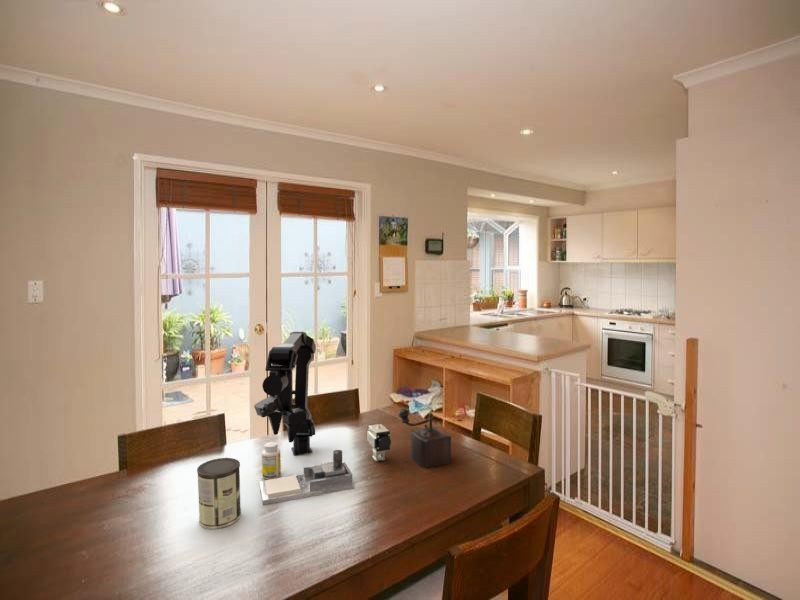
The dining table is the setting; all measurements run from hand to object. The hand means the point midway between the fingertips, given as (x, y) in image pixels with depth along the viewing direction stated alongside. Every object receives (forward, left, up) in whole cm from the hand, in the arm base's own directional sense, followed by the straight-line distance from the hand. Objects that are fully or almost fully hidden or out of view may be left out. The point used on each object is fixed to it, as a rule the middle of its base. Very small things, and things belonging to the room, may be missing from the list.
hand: (283, 438), depth 139 cm
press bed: (+7, -1, -12) cm, 14 cm away
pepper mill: (+3, +46, -14) cm, 48 cm away
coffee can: (+16, -18, -14) cm, 27 cm away
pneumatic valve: (-4, +32, -14) cm, 35 cm away
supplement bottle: (-4, -3, -14) cm, 15 cm away
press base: (+7, +6, -13) cm, 16 cm away
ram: (+7, +12, -12) cm, 18 cm away
